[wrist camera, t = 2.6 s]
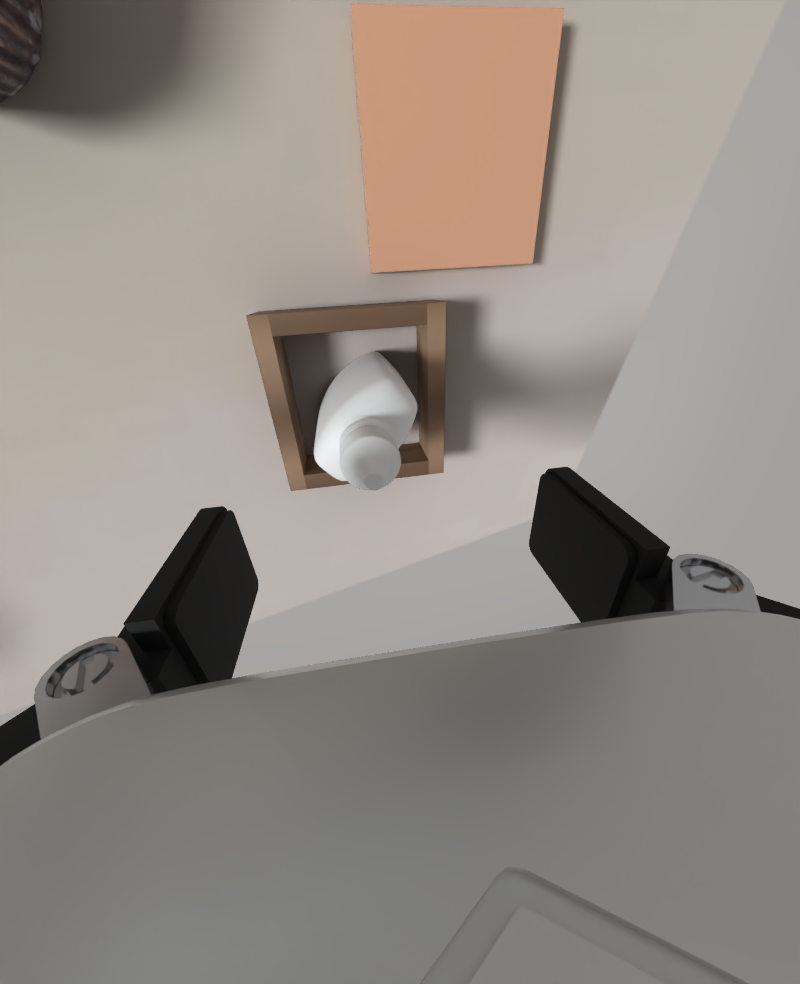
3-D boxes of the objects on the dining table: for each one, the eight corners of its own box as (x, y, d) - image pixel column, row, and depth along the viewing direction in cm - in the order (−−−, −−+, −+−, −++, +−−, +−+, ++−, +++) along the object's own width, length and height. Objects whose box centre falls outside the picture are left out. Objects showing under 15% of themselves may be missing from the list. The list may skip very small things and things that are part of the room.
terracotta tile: (350, 20, 14) (351, 3, 14) (551, 23, 15) (564, 8, 15) (371, 273, 19) (372, 272, 18) (524, 264, 20) (532, 263, 19)
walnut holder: (258, 311, 19) (246, 315, 17) (432, 299, 20) (446, 302, 18) (295, 469, 25) (290, 491, 22) (432, 453, 26) (443, 472, 23)
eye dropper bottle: (407, 410, 24) (459, 505, 13) (329, 435, 24) (322, 549, 13) (389, 344, 21) (436, 399, 11) (302, 372, 21) (271, 453, 11)
